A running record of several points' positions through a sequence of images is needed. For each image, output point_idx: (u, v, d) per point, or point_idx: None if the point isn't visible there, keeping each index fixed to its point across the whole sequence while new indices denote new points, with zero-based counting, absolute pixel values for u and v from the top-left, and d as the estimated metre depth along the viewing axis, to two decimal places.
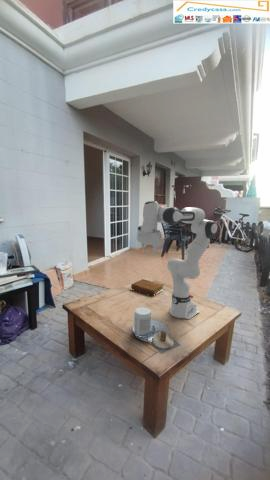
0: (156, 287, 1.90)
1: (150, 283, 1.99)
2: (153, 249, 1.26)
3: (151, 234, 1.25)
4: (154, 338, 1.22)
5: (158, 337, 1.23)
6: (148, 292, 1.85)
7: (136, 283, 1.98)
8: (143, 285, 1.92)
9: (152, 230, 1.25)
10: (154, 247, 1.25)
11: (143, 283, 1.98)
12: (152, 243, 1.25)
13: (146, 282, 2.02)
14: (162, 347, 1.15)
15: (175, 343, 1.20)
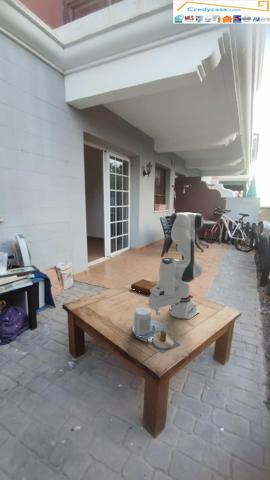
0: None
1: (150, 283, 1.99)
2: (174, 307, 1.20)
3: (174, 293, 1.17)
4: (154, 338, 1.22)
5: (158, 337, 1.23)
6: (148, 292, 1.85)
7: (136, 283, 1.98)
8: (143, 286, 1.92)
9: None
10: (175, 304, 1.20)
11: (143, 283, 1.98)
12: (175, 301, 1.19)
13: (146, 282, 2.02)
14: (162, 347, 1.15)
15: (175, 343, 1.20)
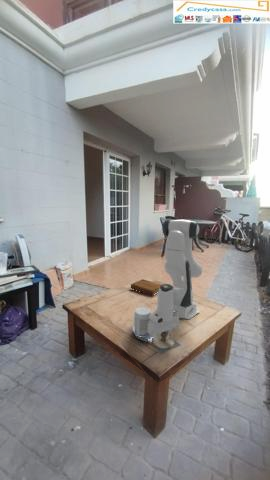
0: (155, 287, 1.90)
1: (150, 283, 1.99)
2: None
3: None
4: (154, 338, 1.22)
5: None
6: (147, 292, 1.85)
7: (136, 283, 1.98)
8: (142, 286, 1.92)
9: None
10: None
11: (143, 283, 1.98)
12: (173, 326, 1.21)
13: (145, 282, 2.02)
14: (162, 347, 1.15)
15: (175, 343, 1.20)
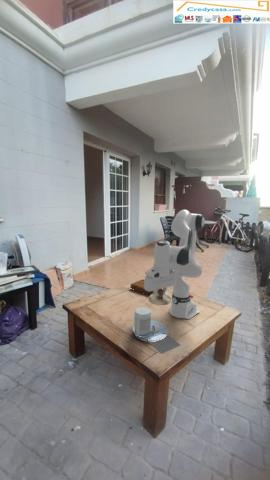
0: None
1: None
2: (165, 290, 1.20)
3: (169, 275, 1.18)
4: (151, 296, 1.20)
5: None
6: (147, 292, 1.85)
7: (135, 283, 1.98)
8: (142, 286, 1.92)
9: None
10: None
11: (143, 283, 1.98)
12: (170, 284, 1.20)
13: None
14: (159, 303, 1.13)
15: (175, 343, 1.20)
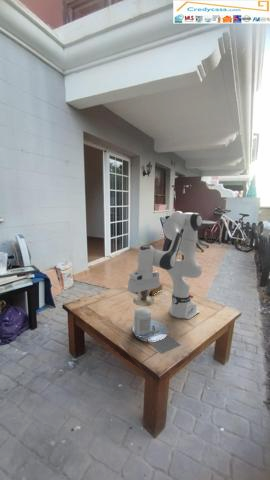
0: None
1: None
2: (149, 292, 1.26)
3: (152, 278, 1.24)
4: (135, 298, 1.26)
5: None
6: None
7: None
8: None
9: None
10: (150, 290, 1.26)
11: None
12: (153, 286, 1.26)
13: None
14: (142, 304, 1.20)
15: (175, 343, 1.20)
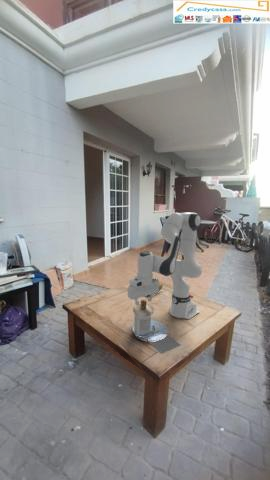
0: None
1: None
2: None
3: (152, 284, 1.25)
4: (135, 307, 1.27)
5: (139, 306, 1.28)
6: None
7: None
8: None
9: None
10: None
11: None
12: (153, 292, 1.27)
13: None
14: (141, 314, 1.21)
15: (175, 343, 1.20)
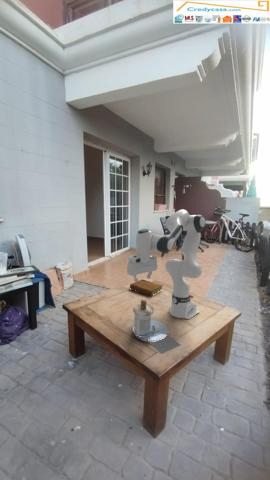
0: (155, 287, 1.89)
1: (149, 283, 1.98)
2: None
3: (150, 261, 1.29)
4: (135, 307, 1.27)
5: (139, 306, 1.28)
6: (146, 292, 1.84)
7: (135, 283, 1.97)
8: (142, 286, 1.92)
9: None
10: None
11: (142, 283, 1.97)
12: (151, 269, 1.30)
13: (145, 282, 2.02)
14: (141, 314, 1.21)
15: (175, 343, 1.20)
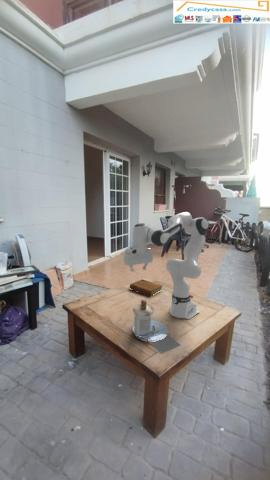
0: (154, 288, 1.88)
1: (149, 283, 1.98)
2: (146, 266, 1.41)
3: (146, 253, 1.38)
4: (135, 307, 1.27)
5: (139, 306, 1.28)
6: (146, 292, 1.84)
7: (135, 283, 1.97)
8: (141, 286, 1.91)
9: None
10: (147, 264, 1.41)
11: (142, 283, 1.97)
12: (147, 261, 1.40)
13: (145, 282, 2.01)
14: (141, 314, 1.21)
15: (175, 343, 1.20)
